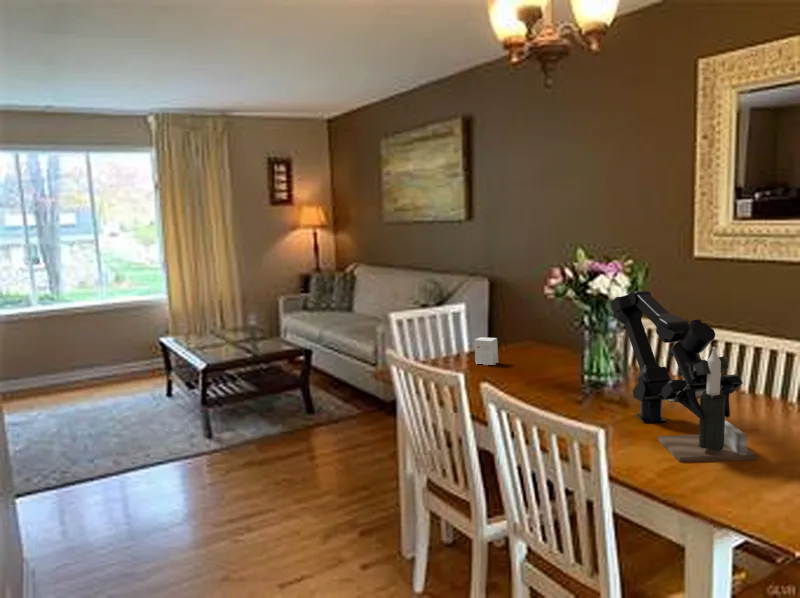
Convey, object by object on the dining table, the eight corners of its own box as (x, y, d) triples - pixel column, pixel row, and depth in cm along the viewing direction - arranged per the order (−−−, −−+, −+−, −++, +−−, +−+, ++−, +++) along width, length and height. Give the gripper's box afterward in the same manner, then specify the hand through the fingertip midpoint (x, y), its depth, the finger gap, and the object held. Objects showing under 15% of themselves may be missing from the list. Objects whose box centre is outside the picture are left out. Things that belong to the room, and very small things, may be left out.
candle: (698, 447, 147) (700, 348, 144) (702, 440, 151) (704, 343, 148) (721, 451, 144) (724, 350, 141) (724, 444, 148) (728, 345, 145)
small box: (498, 363, 248) (497, 338, 246) (493, 366, 243) (492, 340, 241) (480, 361, 252) (479, 336, 250) (474, 364, 247) (474, 339, 246)
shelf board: (657, 440, 159) (657, 417, 158) (727, 438, 158) (727, 415, 158) (679, 461, 146) (679, 437, 145) (755, 459, 145) (756, 435, 144)
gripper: (668, 348, 147) (694, 406, 138) (739, 343, 149) (769, 399, 140) (650, 371, 156) (674, 427, 147) (717, 365, 158) (744, 420, 149)
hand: (715, 418), depth 145 cm, fingers closed on candle, 6 cm apart
